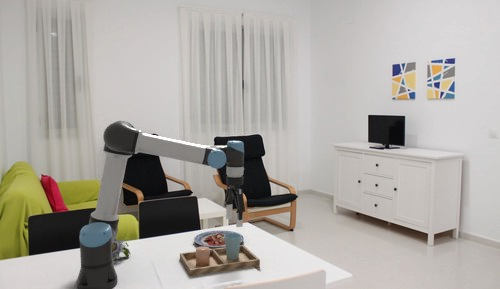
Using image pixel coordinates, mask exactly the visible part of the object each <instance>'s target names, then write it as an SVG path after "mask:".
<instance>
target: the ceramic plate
mask: <svg viewBox="0 0 500 289" xmlns="http://www.w3.org/2000/svg"><path fill="white" fill-rule="evenodd" d="M228 233H237V234H240V235H241V241H240V244H241V243H242V242H244V239H245V237H244V235H242V234H241V233H238V232H236V231H231V230H209V231H204V232H201V233H198V234H197V235H195V236H194V238H193V241H194V242H195V244H198V245H199V246H201V247H202V246H204V247H209V248H225V247H226V246H225V238H224V235H225V234H228Z"/></svg>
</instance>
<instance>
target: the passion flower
mask: <svg viewBox="0 0 500 289" xmlns="http://www.w3.org/2000/svg"><path fill="white" fill-rule="evenodd" d="M128 247H129V244H128V243H127V242H125V239H120V240H118V239H117V237H116V238H115V239H114V242H113V244H112V261H113V260H114V259H116V260H119V259H120V254H121V253H123V255H124V256H125V257H126V259H129V257H130V256H131V251H130V249H129V248H128Z"/></svg>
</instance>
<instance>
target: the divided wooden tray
mask: <svg viewBox="0 0 500 289" xmlns="http://www.w3.org/2000/svg"><path fill="white" fill-rule="evenodd" d="M179 260H180V262H181V263H182V265H183V266H184V268H185V270H186V271H187V274H188V275H189V276H190V277H193V276H200V275H205V274H212V273H219V272H220V273H221V272H225V271H233V270H238V269H245V268H250V267H253V268H254V269H258V268H259V269H260V268H261V259H259V257H258V256H257V255H255V254H254V253H253V252H252V251H251V250H250V249H249V248H247V247H246V246H245V245H244V244H240V250H239V258H238V259H235V260H230V259H227V256H226V247H216V248H212V249H211V248H210V265H209V266H206V267H198V266H196V250H194V251H189V252H181V253H179Z"/></svg>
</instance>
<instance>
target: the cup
mask: <svg viewBox="0 0 500 289" xmlns="http://www.w3.org/2000/svg"><path fill="white" fill-rule="evenodd" d="M237 233H238V232H236V233H228V234H225V235H224V238H225V246H226V256H227V259H230V260H235V259H238V258H239V250H240V245H241V243H240V241H241V235H242V234H241V233H239V234H237ZM240 234H241V235H240Z"/></svg>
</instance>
